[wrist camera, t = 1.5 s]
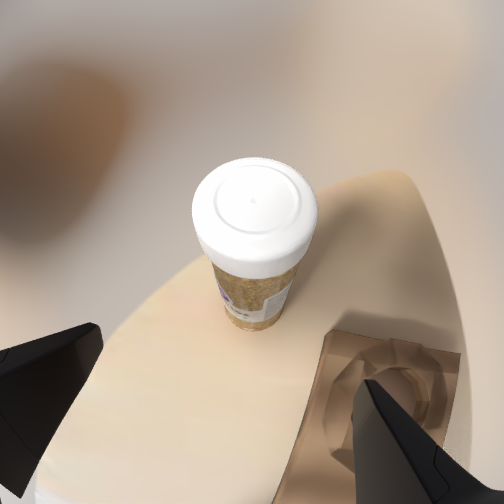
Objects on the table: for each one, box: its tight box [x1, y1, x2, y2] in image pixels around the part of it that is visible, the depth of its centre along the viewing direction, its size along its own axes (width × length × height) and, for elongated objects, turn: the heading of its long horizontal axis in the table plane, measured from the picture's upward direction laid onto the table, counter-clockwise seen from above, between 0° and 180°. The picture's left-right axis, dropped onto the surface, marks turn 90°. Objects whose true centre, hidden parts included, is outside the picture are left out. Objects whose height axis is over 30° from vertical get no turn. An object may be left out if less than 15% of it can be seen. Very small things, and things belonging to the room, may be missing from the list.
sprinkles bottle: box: [192, 157, 318, 331], centre depth 15 cm, size 5×5×13 cm
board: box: [272, 330, 461, 504], centre depth 15 cm, size 16×12×2 cm
